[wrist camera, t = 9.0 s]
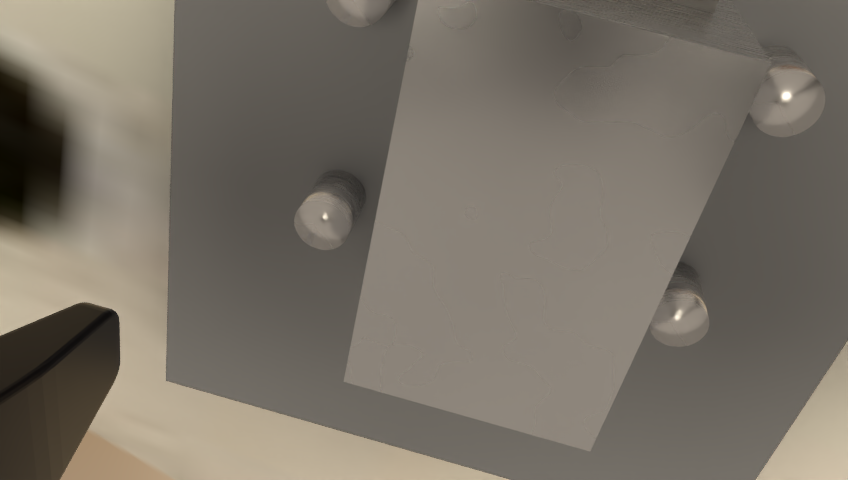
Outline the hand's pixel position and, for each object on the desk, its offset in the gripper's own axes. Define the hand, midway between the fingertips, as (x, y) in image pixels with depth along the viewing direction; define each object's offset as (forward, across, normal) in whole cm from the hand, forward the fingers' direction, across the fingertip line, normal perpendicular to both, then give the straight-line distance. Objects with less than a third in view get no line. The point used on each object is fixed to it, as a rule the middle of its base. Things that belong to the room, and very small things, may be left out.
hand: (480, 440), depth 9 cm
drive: (+9, 0, 0) cm, 9 cm away
